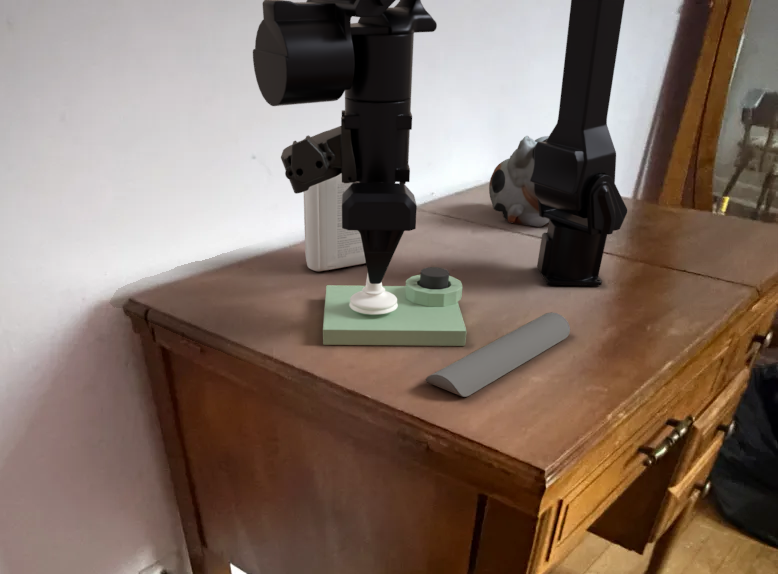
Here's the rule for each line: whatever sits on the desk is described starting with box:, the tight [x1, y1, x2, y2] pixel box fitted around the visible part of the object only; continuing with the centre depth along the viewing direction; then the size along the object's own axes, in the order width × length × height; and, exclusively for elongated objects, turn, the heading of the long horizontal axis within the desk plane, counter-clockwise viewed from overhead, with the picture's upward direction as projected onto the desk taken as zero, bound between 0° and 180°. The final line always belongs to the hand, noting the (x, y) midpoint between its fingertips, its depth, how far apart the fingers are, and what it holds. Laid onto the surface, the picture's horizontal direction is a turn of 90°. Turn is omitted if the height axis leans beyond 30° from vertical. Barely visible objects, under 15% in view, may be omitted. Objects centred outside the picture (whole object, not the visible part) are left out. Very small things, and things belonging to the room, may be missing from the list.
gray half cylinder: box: [424, 311, 571, 398], centre depth 68 cm, size 4×20×2 cm, turn 138°
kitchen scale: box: [322, 274, 467, 347], centre depth 74 cm, size 14×12×3 cm
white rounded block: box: [303, 173, 366, 272], centre depth 85 cm, size 10×4×12 cm, turn 123°
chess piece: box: [349, 271, 398, 315], centre depth 70 cm, size 5×5×10 cm
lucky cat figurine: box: [488, 135, 549, 228], centre depth 102 cm, size 15×12×14 cm
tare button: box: [419, 266, 450, 289], centre depth 76 cm, size 3×3×2 cm
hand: (374, 279), depth 72 cm, fingers closed on chess piece
